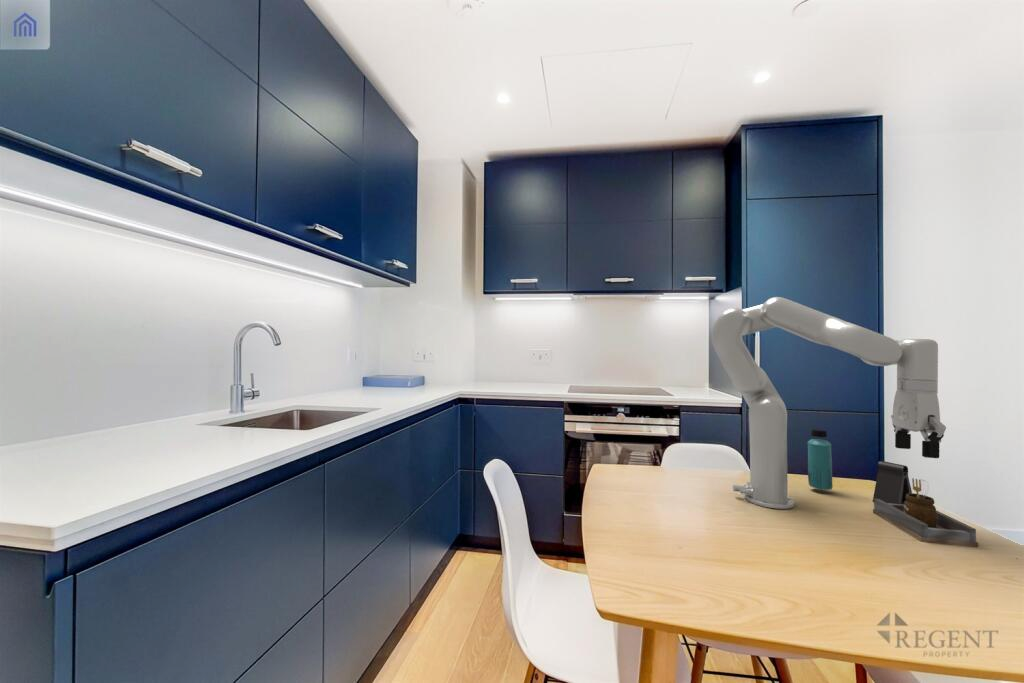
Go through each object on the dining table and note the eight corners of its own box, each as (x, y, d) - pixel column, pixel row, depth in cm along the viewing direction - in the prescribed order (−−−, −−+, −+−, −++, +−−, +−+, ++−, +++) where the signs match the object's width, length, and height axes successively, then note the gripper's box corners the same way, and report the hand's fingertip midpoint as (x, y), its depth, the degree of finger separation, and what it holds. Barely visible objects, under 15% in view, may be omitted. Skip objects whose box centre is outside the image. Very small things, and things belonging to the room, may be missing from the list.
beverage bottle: (838, 494, 128) (837, 431, 129) (817, 494, 129) (816, 431, 129) (822, 488, 135) (821, 427, 136) (802, 487, 135) (801, 427, 136)
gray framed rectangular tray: (920, 541, 97) (920, 524, 97) (873, 512, 114) (872, 498, 114) (977, 546, 94) (977, 529, 94) (920, 516, 111) (919, 502, 112)
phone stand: (890, 498, 126) (889, 459, 126) (914, 505, 120) (914, 464, 120) (872, 502, 122) (871, 462, 123) (897, 509, 117) (896, 467, 117)
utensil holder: (939, 525, 103) (938, 478, 104) (933, 531, 100) (932, 482, 100) (907, 517, 108) (907, 472, 108) (900, 522, 105) (900, 475, 105)
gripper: (878, 383, 114) (877, 444, 114) (924, 388, 98) (923, 460, 97) (910, 384, 113) (909, 446, 112) (962, 390, 96) (962, 463, 96)
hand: (916, 452), depth 105 cm, fingers open, 9 cm apart
